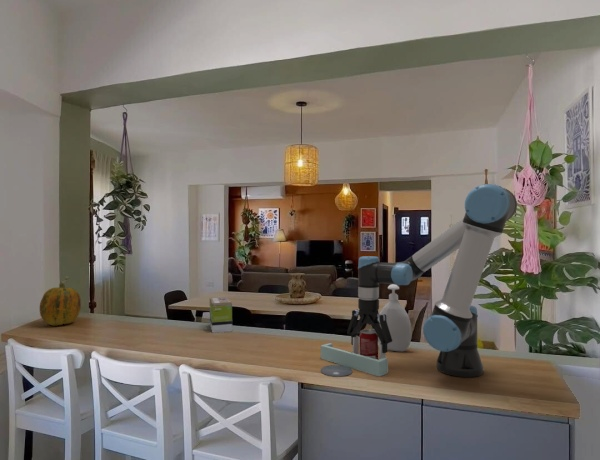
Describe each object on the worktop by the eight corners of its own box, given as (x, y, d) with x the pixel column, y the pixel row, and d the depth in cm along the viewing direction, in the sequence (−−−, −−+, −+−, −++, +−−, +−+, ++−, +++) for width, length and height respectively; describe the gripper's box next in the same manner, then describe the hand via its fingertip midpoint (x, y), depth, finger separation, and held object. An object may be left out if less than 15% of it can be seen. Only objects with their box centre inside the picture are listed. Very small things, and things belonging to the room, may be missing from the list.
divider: (387, 373, 138) (387, 358, 138) (379, 376, 135) (379, 361, 135) (329, 355, 158) (329, 343, 158) (320, 358, 155) (320, 345, 155)
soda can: (378, 367, 144) (377, 333, 144) (359, 366, 146) (358, 333, 146) (378, 361, 151) (378, 329, 151) (360, 360, 152) (359, 328, 152)
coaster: (358, 371, 140) (358, 370, 140) (337, 379, 133) (337, 378, 133) (335, 364, 148) (335, 362, 148) (314, 371, 141) (314, 369, 141)
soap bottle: (414, 349, 167) (413, 283, 167) (409, 354, 160) (409, 286, 160) (379, 344, 174) (379, 282, 174) (374, 349, 166) (373, 284, 167)
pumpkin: (76, 319, 227) (76, 274, 227) (84, 325, 212) (84, 277, 213) (37, 324, 215) (37, 277, 215) (42, 330, 200) (42, 280, 201)
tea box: (209, 326, 209) (209, 297, 209) (228, 325, 212) (228, 296, 212) (211, 333, 195) (211, 302, 195) (232, 331, 198) (232, 301, 198)
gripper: (402, 301, 142) (402, 363, 142) (350, 293, 160) (350, 349, 160) (390, 303, 137) (390, 367, 137) (337, 295, 155) (337, 352, 154)
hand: (368, 357), depth 148 cm, fingers open, 11 cm apart
